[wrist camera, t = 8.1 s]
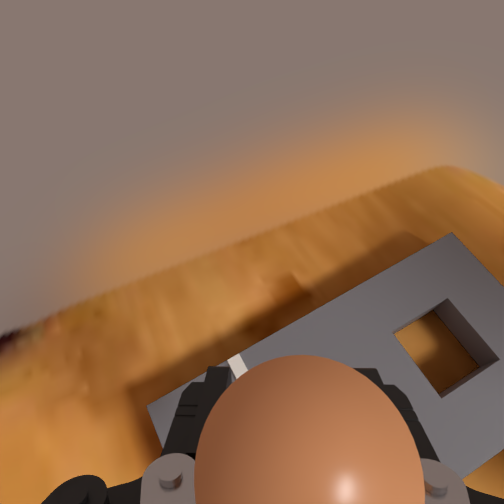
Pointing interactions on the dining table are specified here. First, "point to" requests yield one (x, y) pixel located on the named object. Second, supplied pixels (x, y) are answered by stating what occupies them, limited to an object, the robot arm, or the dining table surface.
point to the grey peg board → (395, 356)
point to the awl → (306, 440)
